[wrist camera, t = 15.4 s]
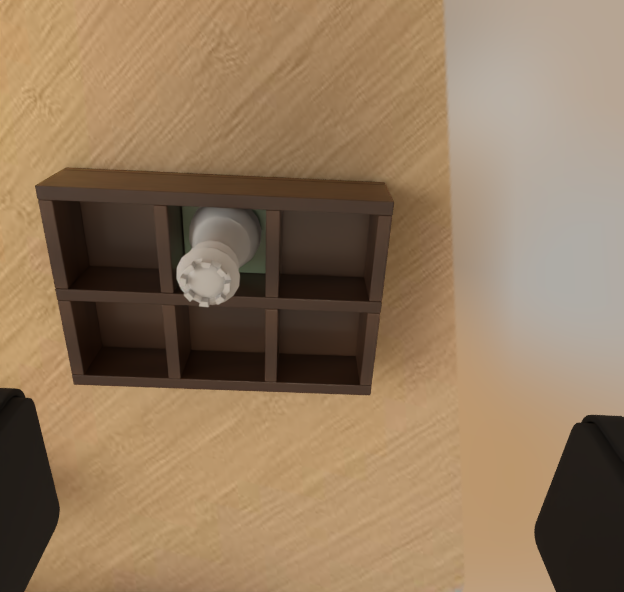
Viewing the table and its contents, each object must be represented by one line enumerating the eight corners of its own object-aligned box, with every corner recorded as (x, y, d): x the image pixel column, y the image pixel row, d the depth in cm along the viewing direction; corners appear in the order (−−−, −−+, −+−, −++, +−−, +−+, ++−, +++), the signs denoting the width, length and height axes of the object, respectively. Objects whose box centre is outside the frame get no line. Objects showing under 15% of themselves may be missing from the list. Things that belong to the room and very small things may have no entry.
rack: (65, 167, 32) (34, 185, 29) (384, 182, 33) (394, 202, 29) (95, 350, 39) (73, 384, 35) (364, 360, 39) (370, 395, 35)
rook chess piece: (251, 270, 35) (236, 333, 28) (184, 249, 34) (151, 309, 27) (271, 208, 33) (260, 259, 26) (200, 185, 32) (170, 231, 25)
